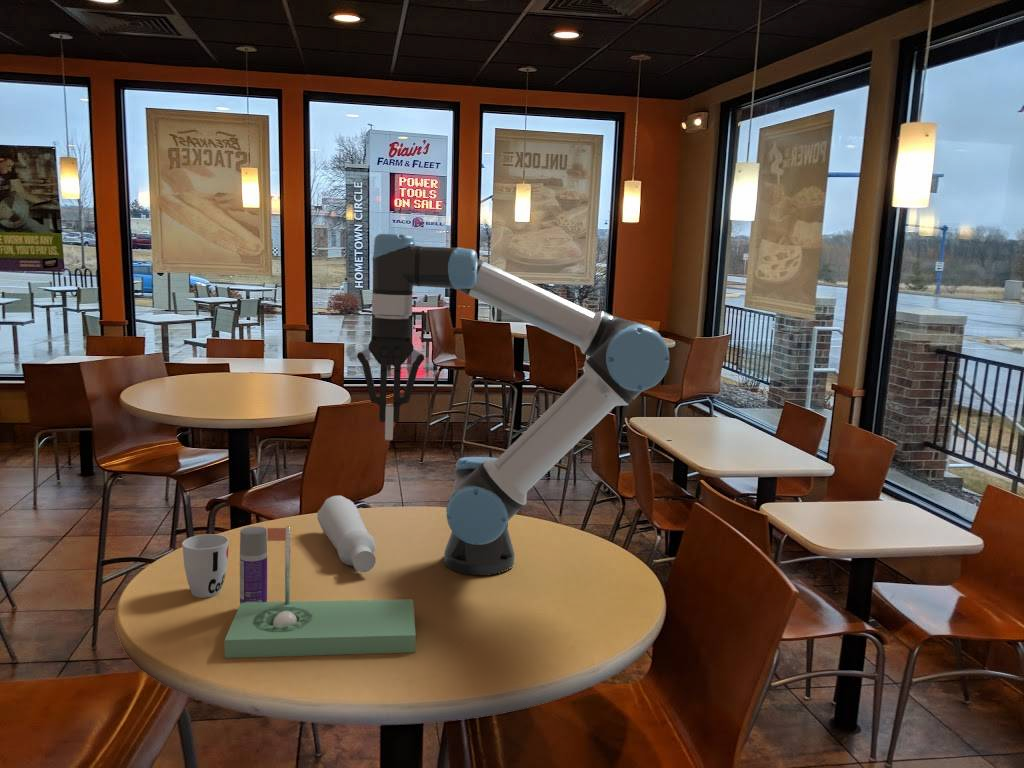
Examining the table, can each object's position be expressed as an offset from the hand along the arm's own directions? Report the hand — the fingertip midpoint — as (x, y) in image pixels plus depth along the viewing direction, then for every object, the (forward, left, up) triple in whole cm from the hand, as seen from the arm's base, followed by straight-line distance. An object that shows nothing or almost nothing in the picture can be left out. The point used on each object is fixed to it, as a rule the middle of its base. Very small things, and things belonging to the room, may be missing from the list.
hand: (388, 438), depth 153 cm
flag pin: (+18, +16, -26) cm, 36 cm away
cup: (+33, +3, -30) cm, 45 cm away
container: (+23, +12, -30) cm, 39 cm away
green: (+10, +22, -29) cm, 38 cm away
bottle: (+8, -17, -30) cm, 35 cm away
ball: (+17, +22, -27) cm, 39 cm away
